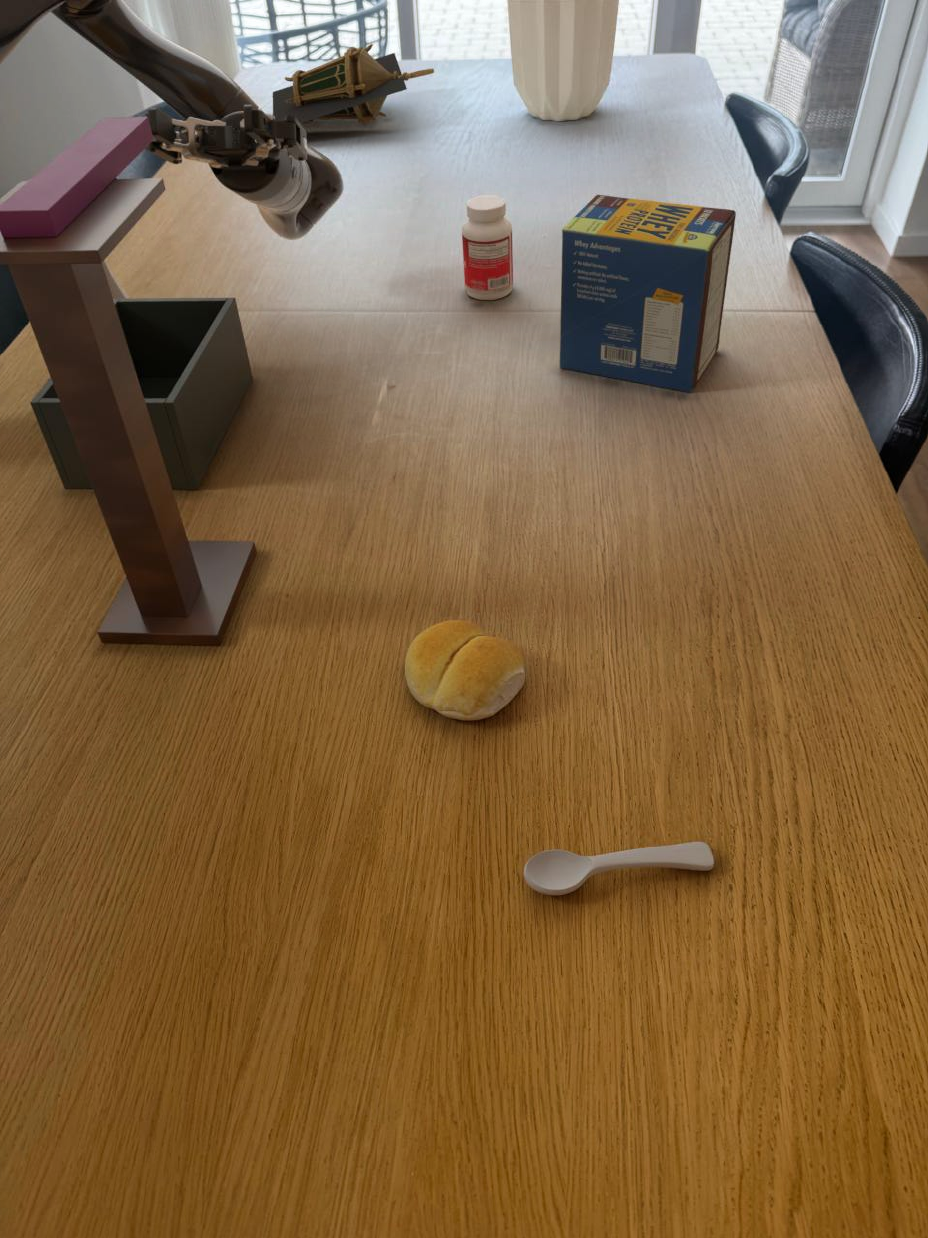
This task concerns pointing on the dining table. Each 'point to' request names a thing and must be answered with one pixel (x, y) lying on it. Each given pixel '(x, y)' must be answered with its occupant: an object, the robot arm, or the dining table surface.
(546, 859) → the spoon
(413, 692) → the bread roll
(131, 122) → the pink rectangular block
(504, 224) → the pill bottle
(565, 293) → the protein box
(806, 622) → the dining table surface
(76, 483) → the trash bin
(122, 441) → the shelf stand
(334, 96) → the lantern
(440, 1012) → the dining table surface
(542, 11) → the vase
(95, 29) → the robot arm
